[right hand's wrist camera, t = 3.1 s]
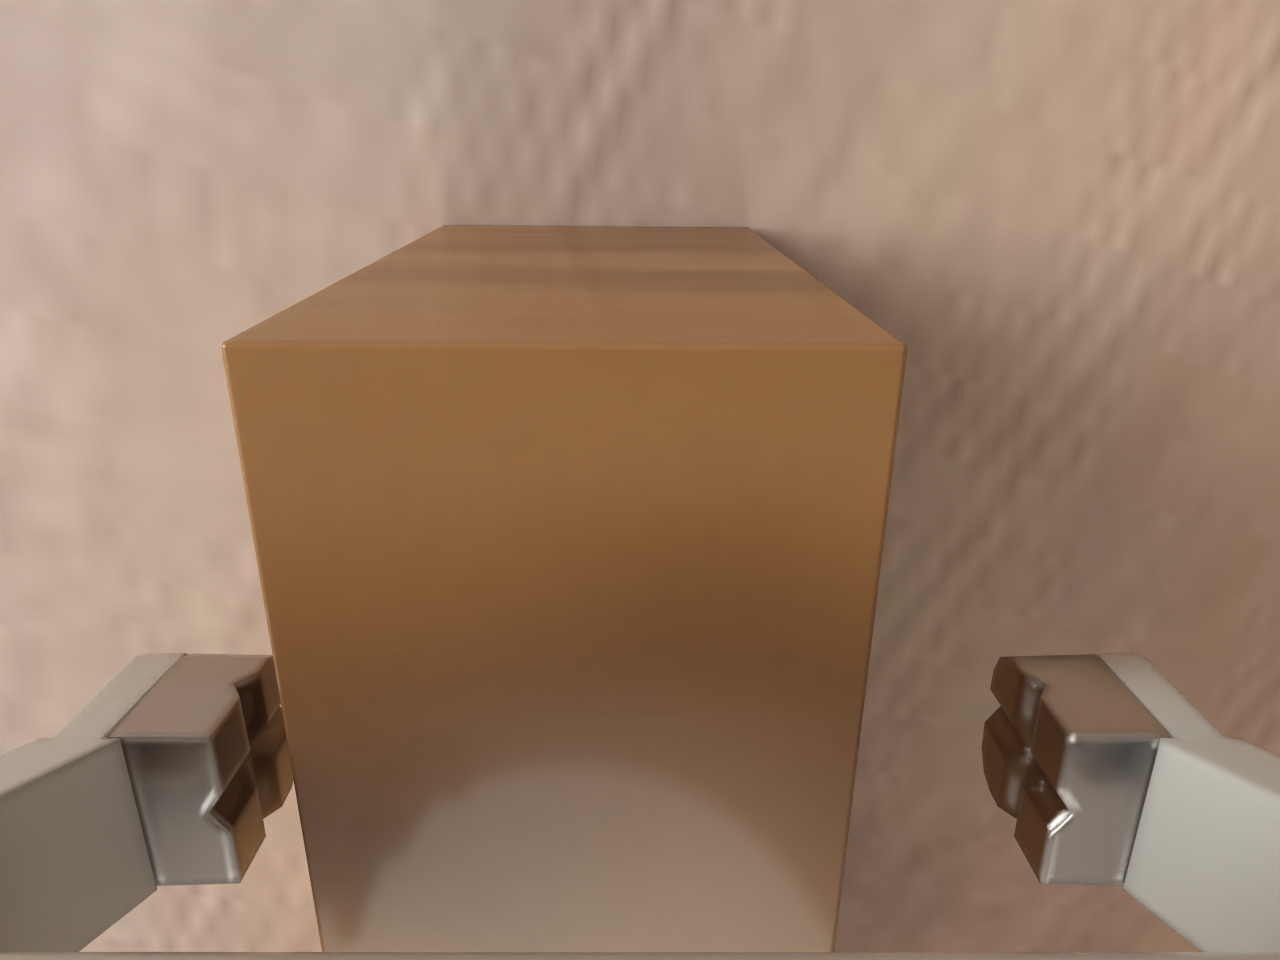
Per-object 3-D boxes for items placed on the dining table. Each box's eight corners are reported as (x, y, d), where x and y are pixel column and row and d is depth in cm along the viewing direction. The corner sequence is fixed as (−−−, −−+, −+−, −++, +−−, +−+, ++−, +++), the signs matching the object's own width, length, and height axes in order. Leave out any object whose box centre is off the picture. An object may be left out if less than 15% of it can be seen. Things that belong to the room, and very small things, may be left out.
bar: (442, 224, 16) (217, 341, 7) (750, 227, 16) (909, 344, 7) (504, 1116, 25) (439, 1666, 16) (703, 1113, 25) (749, 1657, 16)
